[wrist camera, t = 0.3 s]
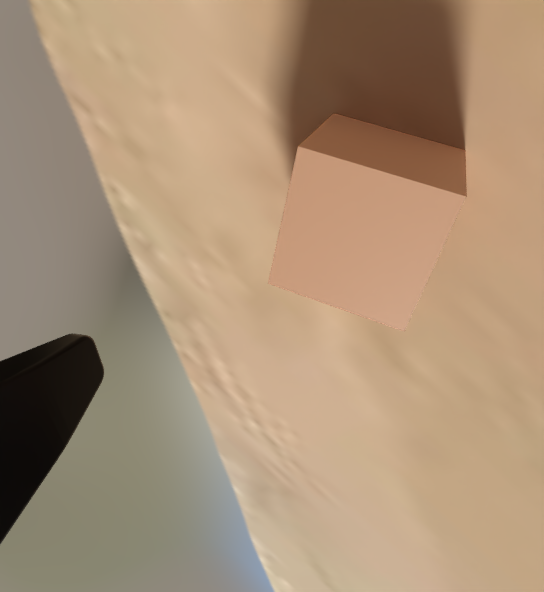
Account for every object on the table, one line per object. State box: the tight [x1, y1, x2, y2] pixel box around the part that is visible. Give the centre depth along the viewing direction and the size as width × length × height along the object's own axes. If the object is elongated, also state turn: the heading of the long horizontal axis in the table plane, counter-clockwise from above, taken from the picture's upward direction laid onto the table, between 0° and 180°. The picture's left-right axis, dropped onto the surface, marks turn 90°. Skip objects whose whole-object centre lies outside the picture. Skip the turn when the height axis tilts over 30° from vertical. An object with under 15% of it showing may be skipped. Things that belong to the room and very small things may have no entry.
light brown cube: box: [268, 113, 467, 332], centre depth 17 cm, size 5×5×5 cm
